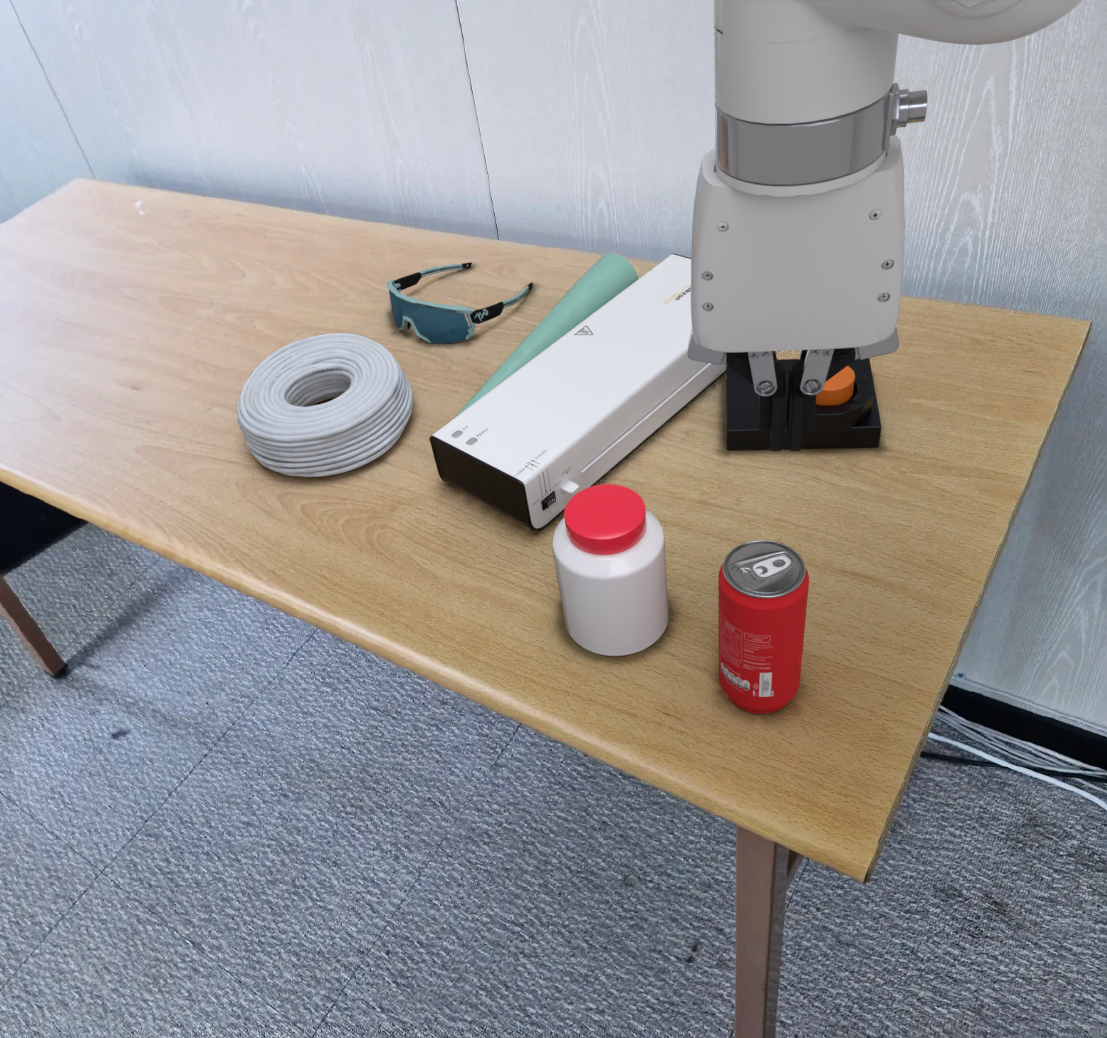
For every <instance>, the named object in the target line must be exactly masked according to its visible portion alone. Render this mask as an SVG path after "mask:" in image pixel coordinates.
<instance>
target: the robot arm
mask: <svg viewBox="0 0 1107 1038" xmlns="http://www.w3.org/2000/svg"><path fill="white" fill-rule="evenodd" d="M1082 1H1083V0H713V65H714V66H713V71H714V72H713V75H714V79H713V80H714V144H715V145H714V148H712V149H711V150H709V151H708V152H706V153H705V154H704V156H703V157H702V158H701V161H700V165H699V170H698V174H697V180H696V186H695V194H694V201H693V212H692V213H693V214H692V224H691V225H692V227H691V232H692V233H691V253H690V256H691V257H690V258H691V322H692V329H691V333H690V336H689V341H688V352H687V355H688V357H689V358H690V359H691V360H694V361H700V362H706V363H712V364H718V365H721V364H727V365H728V366H729V367H730V368H731V369H732V370H734V371H735V372H736V373H738V374H739V375H740V376H742V377H743V378H745V379H746V380H747V381H749V382H750V383H751V384H753V385H754V390H755V392H756V393H757V394H758V395H759V431H771V449H770V452H781V451H782V450H785V449H784V445H785V423H787V449H786V450H790V452H801V450H802V449H801V433H802V430H814V422H815V408H816V394H818V393H820V392H821V391H822V390H823V388H824V384H825V382H826V381H828V380H829V379H830V378H832V377H833V376H834V375H836V374H837V373H839V372H840V371H841V370H843V369H844V368H845V367H847V366H848V365H849V364H851V363H852V362H853V361H854V360H856V359H860V360H863V359H867V358H869V359H871V358H875V357H881V356H885V355H889V354H893V353H895V352H896V351H898V350H899V348H900V339H899V333H898V329H897V325H898V322H899V315H900V310H901V299H902V290H903V289H902V288H903V275H904V258H905V256H904V255H905V240H906V239H905V237H906V218H905V167H904V166H905V165H904V156H903V150H902V149H903V148H902V143H901V140H900V138H899V137H898V136H897V135H896V134H897V130H898V129H899V128H906V127H907V125H908V124H915V123H924V122H925V121H926V117H927V111H928V91H927V89H923V90H914V91H909V88H902V89H900V85H899V83H898V82H894V80H895V72H896V63H897V53H898V45H899V35H903V36H909V37H912V38H913V37H914V38H917V39H922V40H928V41H933V42H938V43H946V44H953V45H955V44H956V45H967V46H969V45H970V46H982V45H985V46H986V45H995V44H1002V43H1007V42H1012V41H1015V40H1018V39H1022V38H1025V37H1028V36H1030V35H1033V34H1036V33H1038V32H1039V31H1042V30H1043V29H1046V28H1047V27H1049V26H1051V25H1052V24H1054V23H1056V22H1057V21H1059V20H1060V19H1062V18H1064V16H1067V14H1069V13H1070V12H1072V11H1073V10H1074V9H1075V8H1076V7H1077V6H1078V5H1080V3H1082ZM788 351H791V352H792V351H799V356H798V359H799V361H797V362H796V363H795V364H793V366H792V370H789V374H788V395H786V370H783V365H782V364H781V363H779V362H778V361H777V360H778V356H777V352H788ZM786 401H787V417H786Z"/></svg>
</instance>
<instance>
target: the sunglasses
mask: <svg viewBox="0 0 1107 1038" xmlns="http://www.w3.org/2000/svg"><path fill="white" fill-rule="evenodd" d="M472 265H473V262H471V261H470V262H464V263H463V262H462V263H451V264H446V265H440V266H434V267H430V268H425V269H422V270H420V271H417V272H414V273H411V274H407V275H405V276H402V277H399V278H396V279H389V280H388V281H387V282H386V287H387V289H388V293H389V301H390V307H391V312H392V316H393V319H394V322H395V325H396V327H397V329H398V330H399V331H404V330H405V329H406V330H407V331H409V330H410V329H411V327H412V329H413V330H414V332H415V334H416V336H417V337H418V338H421V339H422V340H424V341H425V342H427V343H429V344H452V343H458V342H462V341H468V340H469V339H470V338H471V337H472V336H474V335H475V333H476V332H475V331H476V330H475V329H476V328H477V326H476V324H477V325H480V324H482V323H483V324H484V323H485V322H488V321H491V320H493V319H495V318H497V317H499V316H501V315H502V313H503V311H504V308H508V307H511V306H513V305H515V304H517V303H518V302H521V300H523V299H524V298H525V297H526V296H527V294H528V293H529V292H530V291H531V290H532V289H533V286H534V282H530V283H529V284H527V285H526V286H525V288H524V289H522V291H520V292H519V293H518V294H516V295H515V296H513V297H511V298H508V299H504V300H501V301H499V302H497V303H494V304H491V305H489V306H486V307H483V308H478V309H473V308H469V307H467V306H464V305H452V304H443V303H437V302H431V301H425V300H420V299H417V298H413V297H410V296H408V295H405V294H403V293H402V291H404V290H406V289H409V288H411V287H413V286H415V285H416V286H417V284H418V283H419V282H420V280H421V279H422V278H425V277H428V276H431V275H435V274H439V273H443V272H451V271H459V270H464V269H470V268H471V266H472Z"/></svg>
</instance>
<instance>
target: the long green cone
mask: <svg viewBox="0 0 1107 1038" xmlns="http://www.w3.org/2000/svg"><path fill="white" fill-rule="evenodd" d="M638 279H639V275H638V273H637V270H636V268H635V267H634V265H633V264H632V263H631V262H630V261H629V260H628V259H627V258H626V257H624V256H623V255H620V254H618V253H613V252H609V253H605V254H603V255H602V256H601V257H600V258H599V259H598V260H597V261H595V263H594V264H593V265H592V266H591V267H590V268H589V269H588V270H587V271H585V272H584V274H583V275H582V276H581V277H580V278H579V279H578V280H577V281H576V282H575V283H574V284H573V285H572V287H571V288H570V289H569V290H568V291H567V292H566V293H565V294H564V295H563V296H562V297H561V299H560V300H558V302H557V303H555V305H554V306H553V308H551V310H550V311H549V312H548V313H547V314H546V315H545V316H544V317H543V319H541V321H540V322H539V323H538V324H537V325H536V326H535V328H533V330H532V331H531V332H530V333H529V334H528V335H527V336H526V337H525V338H524V339H523V340H522V342H521V343H520V344H519V345H518V346H517V347H516V348H515V350H514V351H513V352H512V353H511V354H510V355H509V356H508V357H507V359H506V360H505V361H503V363H502V364H501V365H500V366H499V367H498V368H497V369H496V370H495V372H494V373H493V374H491V376H490V377H489V378H488V379H487V381H486V382H484V384H483V385H482V386H481V387H480V388H479V390H478V391H477V392H476V393H475V394H474V395H472V397H471V398H470V399H469V400H468V402H467V403H465V405H464V406H463V407H462V408H461V409H460V411H459V412H458V413H457V414H456V415H455V417H457V416H458V415H459V414H461V413H462V412H463V411H465V410H466V409H467V408H469V407H470V406H471V405H473V404H474V403H475V402H477V401H478V400H479V399H481V398H482V397H483V396H484V395H486V394H487V393H488V392H490V391H491V390H492V389H494V388H495V387H496V386H498V385H499V384H500V383H502V382H503V381H504V380H506V379H507V378H508V377H510V376H511V375H512V374H514V373H515V372H516V371H518V370H519V369H520V368H522V367H523V366H524V365H526V364H527V363H528V362H530V361H531V360H532V359H534V358H535V357H536V356H538V355H539V354H540V353H542V352H543V351H544V350H545V349H547V348H548V347H549V346H551V345H552V344H553V343H555V342H556V341H557V340H559V339H560V338H561V337H563V336H564V335H565V334H567V333H568V332H569V331H571V330H572V329H573V328H575V327H576V326H577V325H579V324H580V323H581V322H583V321H584V320H585V319H587V318H588V317H589V316H591V315H592V314H593V313H595V312H596V311H597V310H599V309H600V308H601V307H602V306H604V305H605V304H606V303H608V302H609V301H610V300H612V299H613V298H614V297H616V296H617V295H618V294H620V293H621V292H622V291H624V290H625V289H626V288H628V287H629V286H630V285H632V284H633V283H634V282H636V281H637V280H638Z"/></svg>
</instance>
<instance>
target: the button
mask: <svg viewBox="0 0 1107 1038" xmlns="http://www.w3.org/2000/svg"><path fill="white" fill-rule="evenodd" d="M854 382H855V373H854V371H853V370H852V369H851V368H850V367H849V366H847V367H845V368H844V369H843V370H841V371H840V372H839V373H837V374H836V375H834V376H833V377H832V378H830V379H829V380H828V381H826V382H825V384H824V388H823V390H822V391H821V392H820V393H818V394H816V404H817V405H820V406H833V405H840V404H843V403H845V402H847V401H849V400H850V399H851V397H852V395H853V390H854Z"/></svg>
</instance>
